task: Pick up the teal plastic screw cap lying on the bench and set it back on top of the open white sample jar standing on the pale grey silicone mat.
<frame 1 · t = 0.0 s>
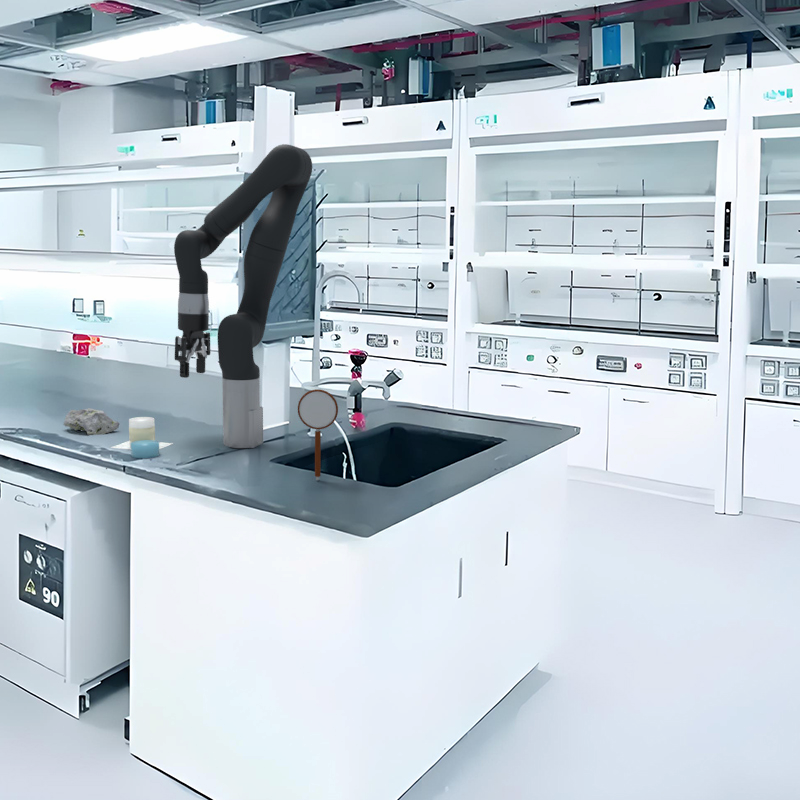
hand: (192, 375, 219), 17 cm above the worktop, tool pointing down, fingers open, 8 cm apart
mineral specimen: (90, 433, 229), on the worktop
magnifying glass: (317, 481, 186), on the worktop
mat: (142, 447, 214), on the worktop
cap: (145, 457, 204), on the worktop
jar: (142, 447, 212), resting on mat
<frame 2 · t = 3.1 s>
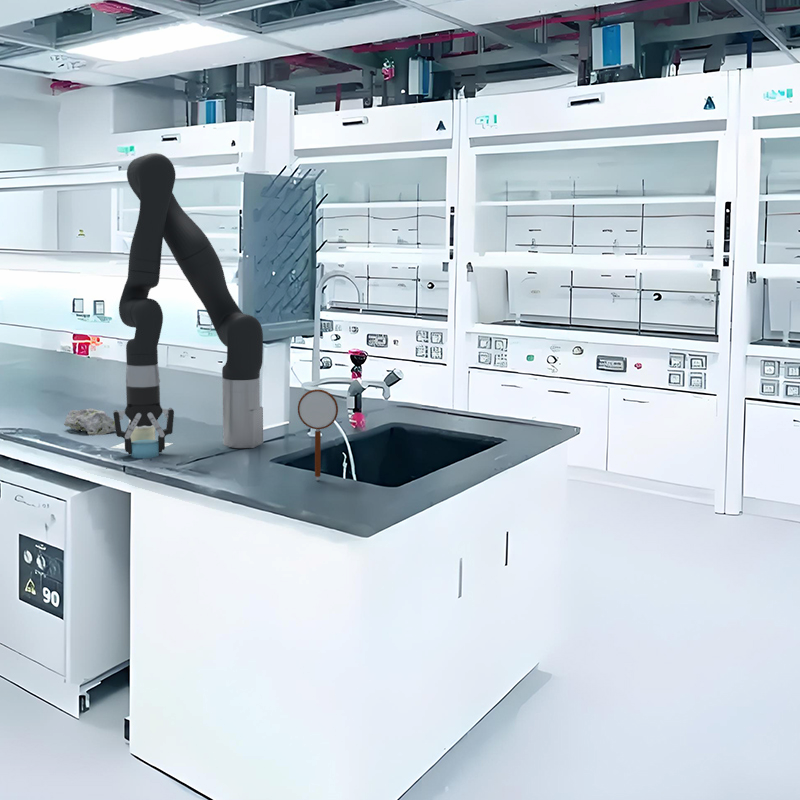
hand: (144, 452, 204), 1 cm above the worktop, tool pointing down, fingers closed on cap, 6 cm apart
cap: (145, 456, 204), on the worktop, touching gripper
everything else where it was.
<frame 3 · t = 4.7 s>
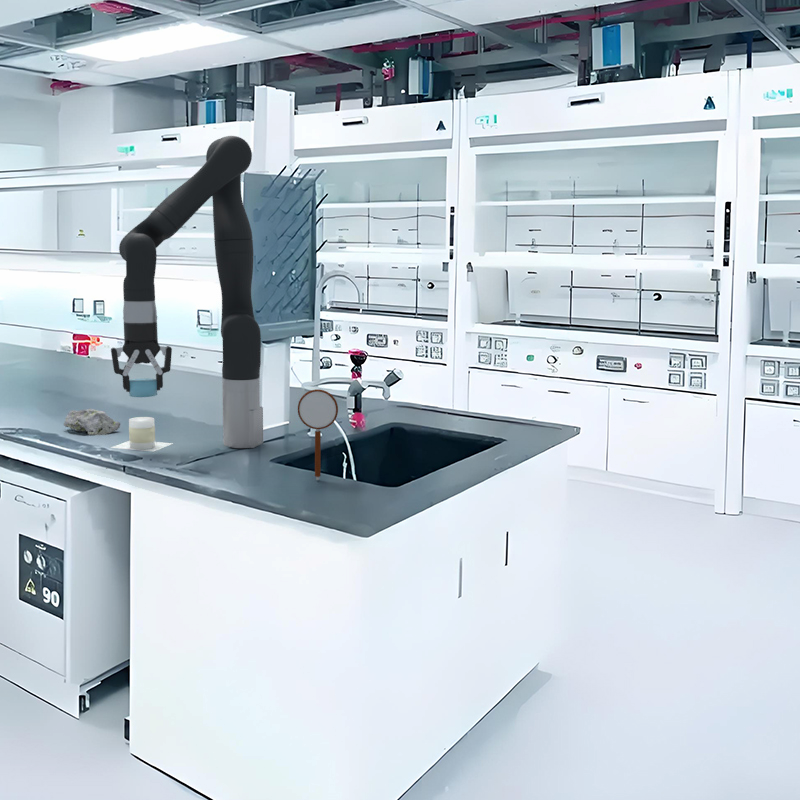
hand: (143, 390, 204), 16 cm above the worktop, tool pointing down, fingers closed on cap, 6 cm apart
cap: (143, 394, 204), point 14 cm above the worktop, touching gripper
everything else where it was.
when the fingers open (10 cm above the worktop, at t = 6.7 s): cap drops 1 cm, resting on jar.
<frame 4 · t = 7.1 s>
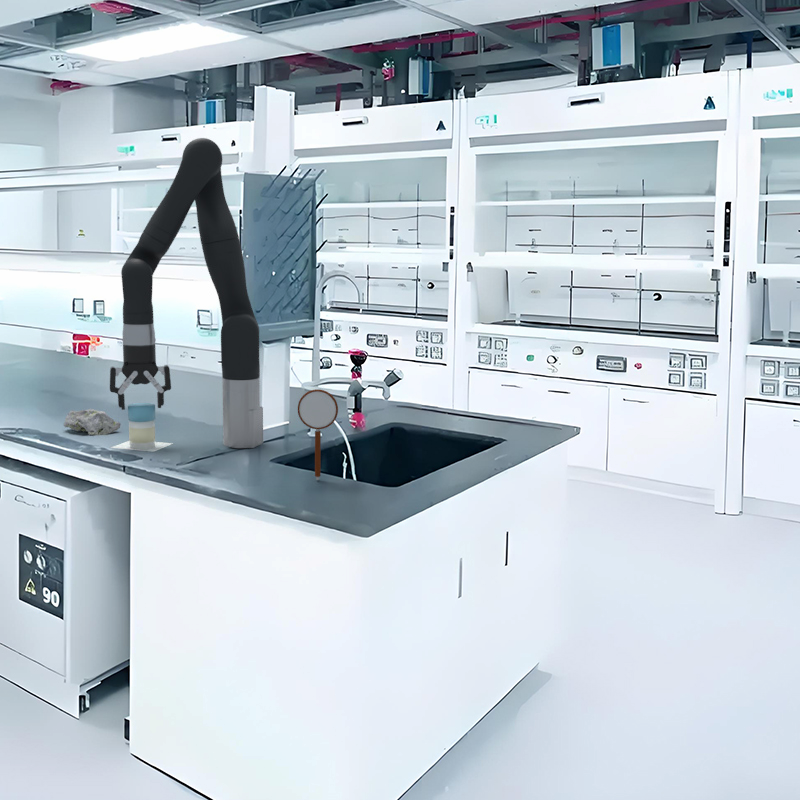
hand: (141, 408, 210), 10 cm above the worktop, tool pointing down, fingers open, 8 cm apart
cap: (141, 419, 211), point 7 cm above the worktop, touching jar
everything else where it was.
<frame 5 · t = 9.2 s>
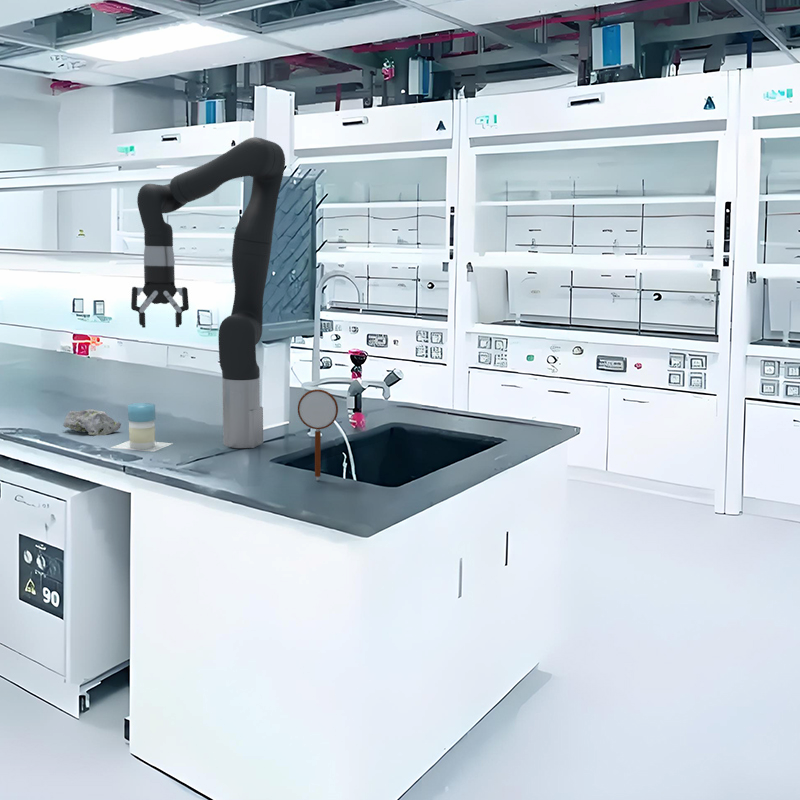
hand: (160, 327, 224), 29 cm above the worktop, tool pointing down, fingers open, 8 cm apart
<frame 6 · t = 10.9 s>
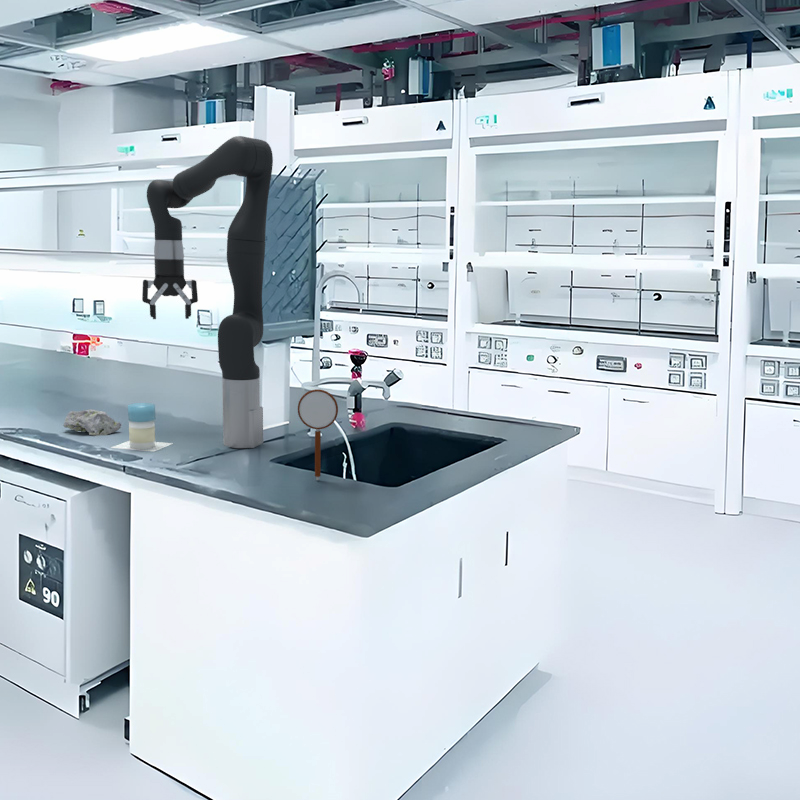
hand: (170, 318, 231), 30 cm above the worktop, tool pointing down, fingers open, 8 cm apart
at the end: cap 0.1 cm from the jar (horizontally); cap point 7.4 cm above the worktop; cap tilted 0° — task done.
